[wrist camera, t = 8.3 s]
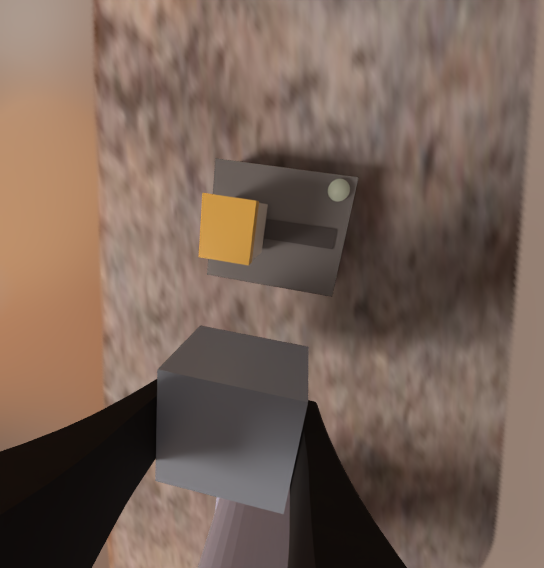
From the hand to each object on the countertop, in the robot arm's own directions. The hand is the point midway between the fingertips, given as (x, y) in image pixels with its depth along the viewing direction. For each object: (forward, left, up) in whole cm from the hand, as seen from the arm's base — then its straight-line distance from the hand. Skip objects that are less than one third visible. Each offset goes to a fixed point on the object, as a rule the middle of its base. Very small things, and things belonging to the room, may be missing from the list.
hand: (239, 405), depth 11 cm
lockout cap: (0, 0, -2) cm, 2 cm away
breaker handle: (+7, +2, -4) cm, 8 cm away
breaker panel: (+7, 0, -7) cm, 10 cm away
